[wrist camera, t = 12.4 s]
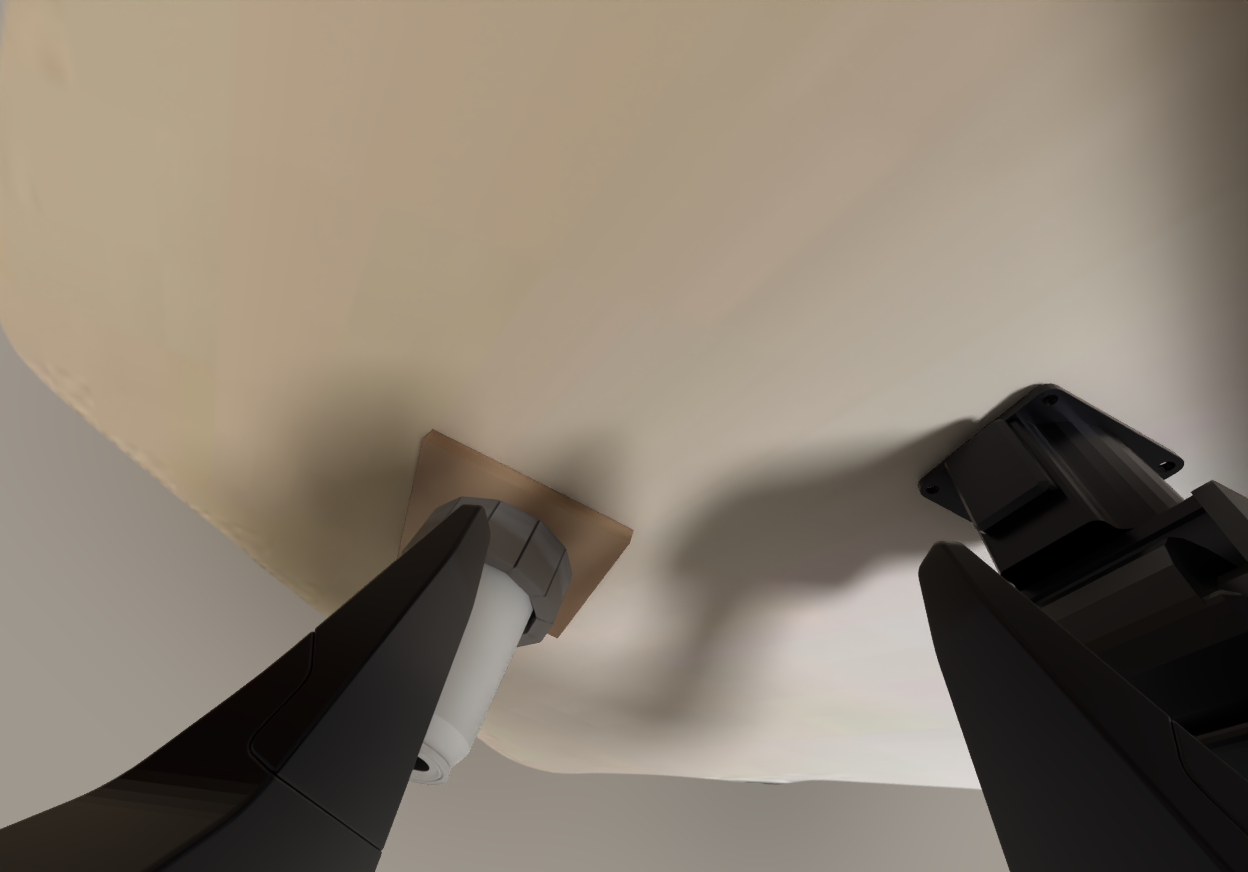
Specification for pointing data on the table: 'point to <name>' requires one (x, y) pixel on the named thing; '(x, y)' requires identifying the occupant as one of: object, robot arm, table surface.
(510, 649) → the beverage can
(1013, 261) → the table surface
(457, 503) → the can holder
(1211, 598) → the robot arm
